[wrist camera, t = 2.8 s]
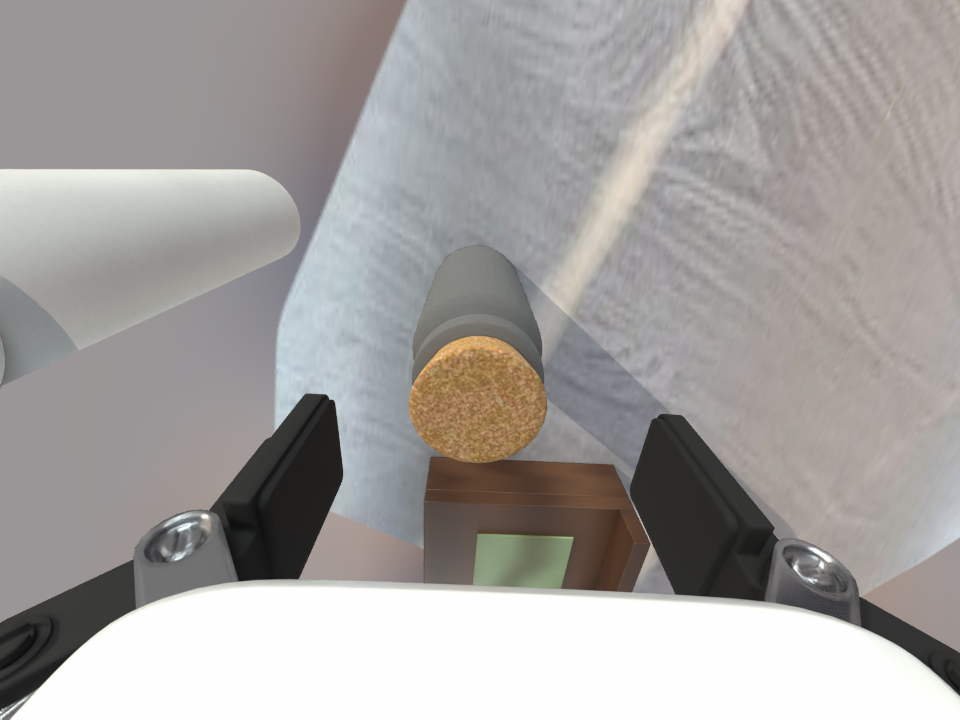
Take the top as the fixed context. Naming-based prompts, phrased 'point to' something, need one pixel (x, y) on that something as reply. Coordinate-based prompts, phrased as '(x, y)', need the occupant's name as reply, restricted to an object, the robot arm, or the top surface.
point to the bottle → (477, 361)
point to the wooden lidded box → (530, 526)
